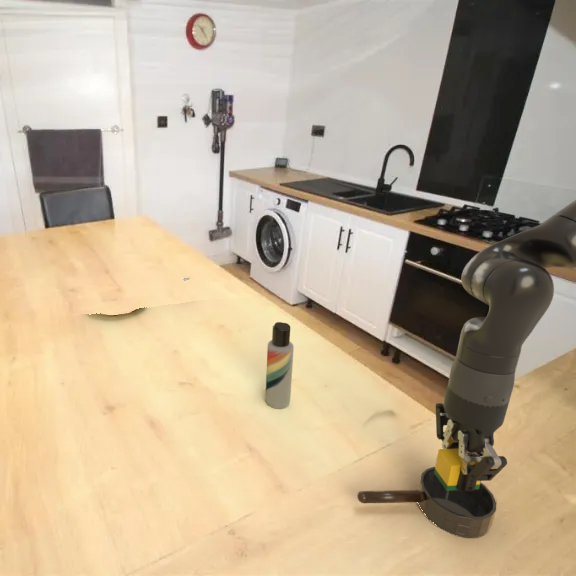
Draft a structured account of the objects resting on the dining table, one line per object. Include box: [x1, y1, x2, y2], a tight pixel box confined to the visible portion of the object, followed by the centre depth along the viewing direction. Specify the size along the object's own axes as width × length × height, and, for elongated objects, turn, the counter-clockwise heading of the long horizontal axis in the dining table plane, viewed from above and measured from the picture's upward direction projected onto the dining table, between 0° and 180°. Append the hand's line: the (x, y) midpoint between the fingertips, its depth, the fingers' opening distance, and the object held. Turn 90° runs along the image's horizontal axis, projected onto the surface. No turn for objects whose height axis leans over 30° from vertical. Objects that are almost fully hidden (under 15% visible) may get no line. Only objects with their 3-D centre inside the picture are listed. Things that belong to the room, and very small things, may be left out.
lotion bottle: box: [264, 321, 295, 410], centre depth 92 cm, size 6×6×20 cm
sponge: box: [434, 448, 482, 491], centre depth 65 cm, size 5×4×5 cm
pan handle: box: [356, 489, 425, 504], centre depth 67 cm, size 11×2×2 cm, turn 90°
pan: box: [417, 466, 497, 539], centre depth 67 cm, size 10×10×4 cm
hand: (455, 478), depth 65 cm, fingers closed on sponge, 3 cm apart
